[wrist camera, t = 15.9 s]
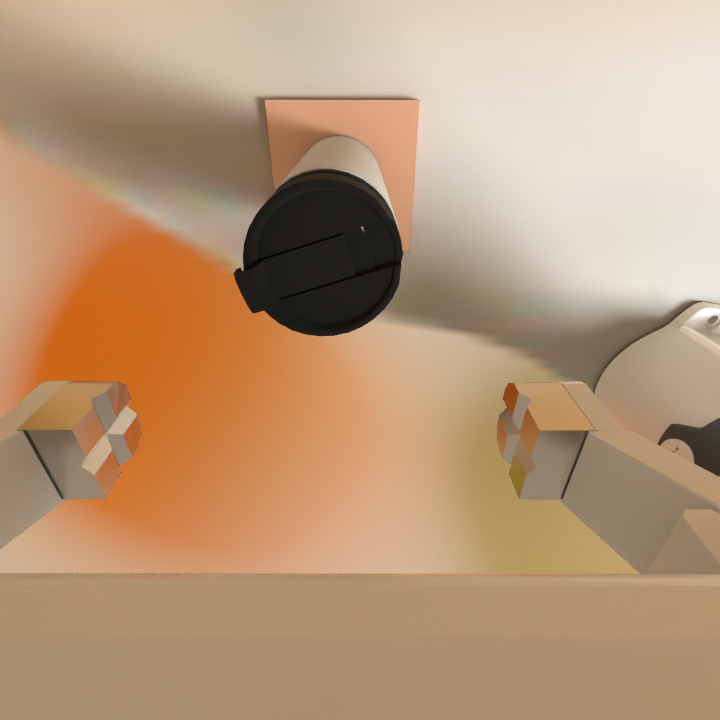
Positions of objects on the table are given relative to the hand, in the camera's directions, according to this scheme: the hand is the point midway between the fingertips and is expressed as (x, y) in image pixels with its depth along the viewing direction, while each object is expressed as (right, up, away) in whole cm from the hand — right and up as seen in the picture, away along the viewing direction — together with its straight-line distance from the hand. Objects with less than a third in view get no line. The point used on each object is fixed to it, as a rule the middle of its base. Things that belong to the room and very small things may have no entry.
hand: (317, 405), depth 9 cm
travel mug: (-1, +15, +24) cm, 28 cm away
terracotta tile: (0, +15, +24) cm, 29 cm away
